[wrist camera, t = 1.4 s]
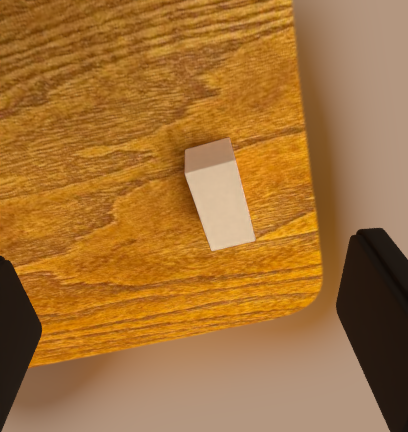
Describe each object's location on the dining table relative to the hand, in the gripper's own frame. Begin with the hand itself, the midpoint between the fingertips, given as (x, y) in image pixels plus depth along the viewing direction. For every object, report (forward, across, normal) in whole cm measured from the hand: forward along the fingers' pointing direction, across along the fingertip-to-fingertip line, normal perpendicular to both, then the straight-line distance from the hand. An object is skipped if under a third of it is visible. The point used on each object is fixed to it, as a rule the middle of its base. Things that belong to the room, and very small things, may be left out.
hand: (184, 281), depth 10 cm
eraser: (+14, -2, +5) cm, 15 cm away
